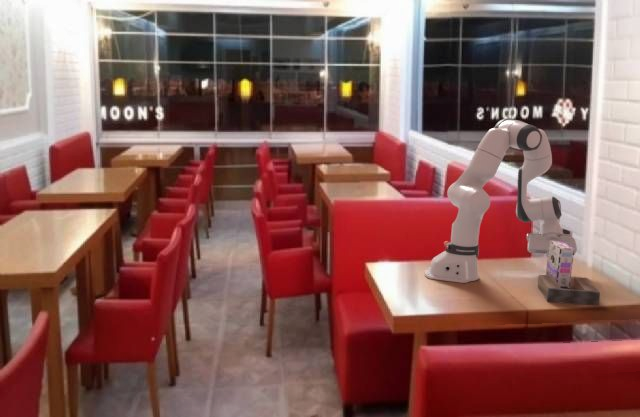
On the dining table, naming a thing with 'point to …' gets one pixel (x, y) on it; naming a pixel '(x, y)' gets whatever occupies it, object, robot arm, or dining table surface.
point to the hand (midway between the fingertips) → (553, 261)
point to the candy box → (560, 262)
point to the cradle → (569, 291)
